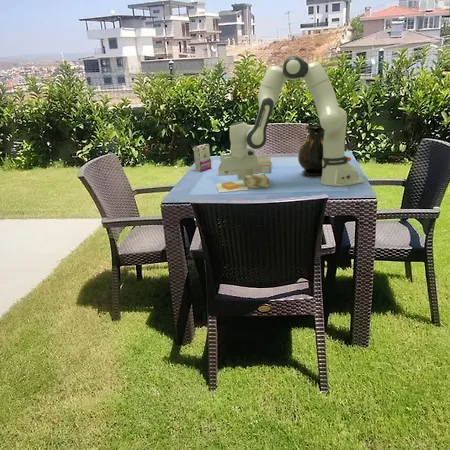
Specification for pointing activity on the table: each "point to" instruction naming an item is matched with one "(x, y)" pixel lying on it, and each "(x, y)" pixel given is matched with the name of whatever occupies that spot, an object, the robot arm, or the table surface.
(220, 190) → the cream board
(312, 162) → the amphora vase
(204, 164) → the candy bar box
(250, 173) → the can
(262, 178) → the cylinder
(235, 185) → the orange tile
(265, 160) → the pizza box
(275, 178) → the table surface
